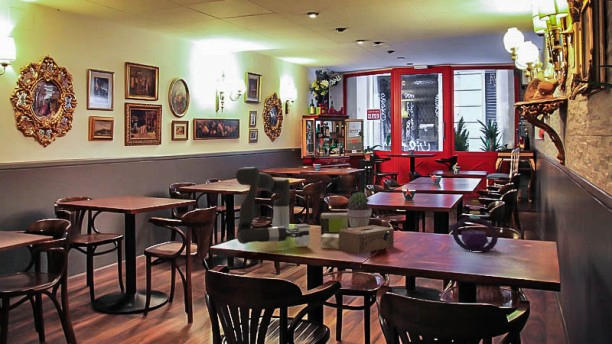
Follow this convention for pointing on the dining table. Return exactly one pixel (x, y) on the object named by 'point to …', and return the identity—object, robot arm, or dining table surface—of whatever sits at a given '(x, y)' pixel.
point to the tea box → (333, 222)
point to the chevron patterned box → (330, 241)
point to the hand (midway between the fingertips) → (306, 231)
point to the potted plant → (359, 210)
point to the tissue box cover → (365, 239)
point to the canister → (304, 239)
